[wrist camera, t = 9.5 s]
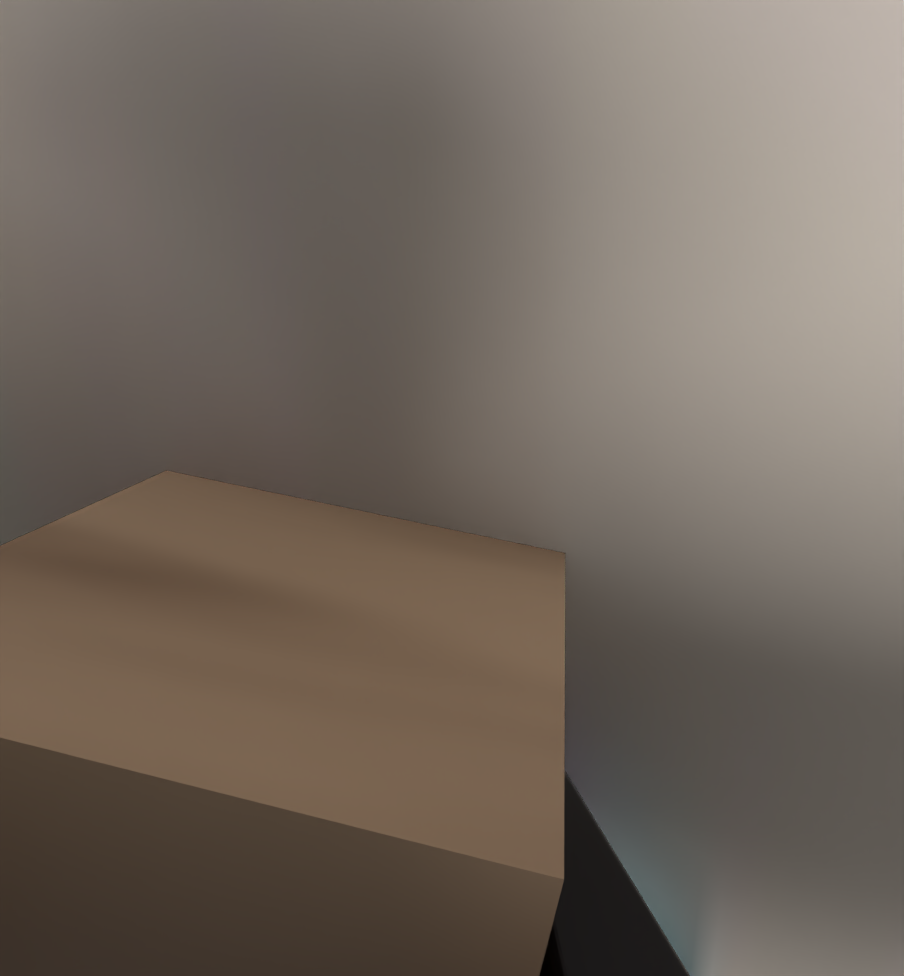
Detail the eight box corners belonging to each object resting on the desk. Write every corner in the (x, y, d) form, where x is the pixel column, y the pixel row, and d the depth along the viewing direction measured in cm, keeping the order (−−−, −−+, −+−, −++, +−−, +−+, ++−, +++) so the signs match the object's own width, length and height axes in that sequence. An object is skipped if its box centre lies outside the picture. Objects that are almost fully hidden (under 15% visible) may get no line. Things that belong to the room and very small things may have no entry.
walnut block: (490, 887, 10) (421, 1434, 5) (149, 800, 11) (-197, 1225, 6) (565, 552, 9) (564, 877, 4) (167, 470, 9) (-272, 668, 4)
